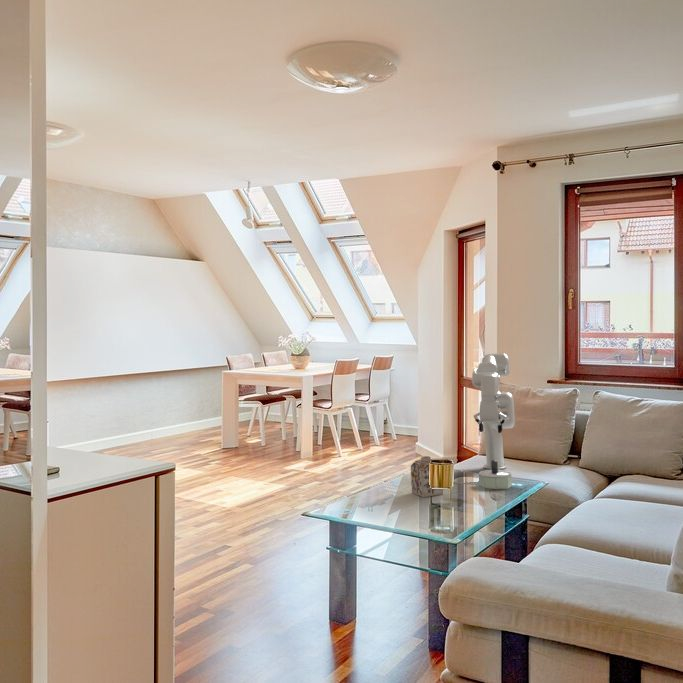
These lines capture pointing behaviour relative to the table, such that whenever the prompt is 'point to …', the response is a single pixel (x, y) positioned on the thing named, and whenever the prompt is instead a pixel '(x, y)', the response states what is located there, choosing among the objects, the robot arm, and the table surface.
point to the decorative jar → (422, 478)
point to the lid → (494, 471)
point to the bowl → (495, 482)
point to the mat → (469, 483)
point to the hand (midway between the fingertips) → (490, 432)
